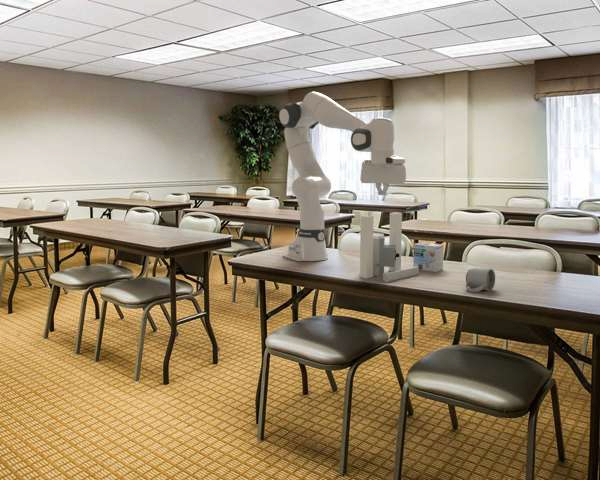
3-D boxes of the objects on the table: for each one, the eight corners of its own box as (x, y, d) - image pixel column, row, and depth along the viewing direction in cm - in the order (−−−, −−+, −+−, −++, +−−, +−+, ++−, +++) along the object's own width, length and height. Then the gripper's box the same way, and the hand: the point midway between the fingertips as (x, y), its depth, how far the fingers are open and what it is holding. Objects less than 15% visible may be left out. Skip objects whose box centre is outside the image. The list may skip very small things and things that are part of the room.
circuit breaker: (398, 276, 209) (399, 238, 207) (362, 275, 212) (362, 237, 210) (399, 272, 216) (399, 236, 214) (364, 271, 219) (364, 235, 217)
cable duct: (382, 281, 201) (383, 273, 200) (414, 273, 214) (414, 266, 214) (387, 281, 199) (387, 274, 199) (418, 274, 213) (418, 266, 212)
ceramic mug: (473, 285, 193) (474, 264, 192) (495, 288, 187) (496, 267, 186) (459, 291, 185) (460, 269, 184) (482, 295, 180) (483, 272, 178)
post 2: (388, 270, 220) (389, 212, 217) (394, 269, 223) (395, 212, 219) (395, 271, 218) (396, 213, 214) (400, 270, 220) (402, 212, 217)
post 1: (360, 277, 208) (360, 216, 205) (365, 275, 211) (366, 215, 207) (366, 278, 206) (367, 216, 202) (372, 277, 208) (373, 216, 205)
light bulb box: (412, 268, 224) (413, 243, 222) (420, 266, 228) (421, 241, 227) (435, 272, 216) (436, 246, 215) (443, 269, 221) (444, 244, 220)
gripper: (357, 160, 213) (356, 194, 215) (398, 159, 198) (397, 196, 200) (367, 160, 217) (367, 193, 219) (408, 159, 202) (408, 195, 204)
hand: (382, 195), depth 210 cm, fingers closed
